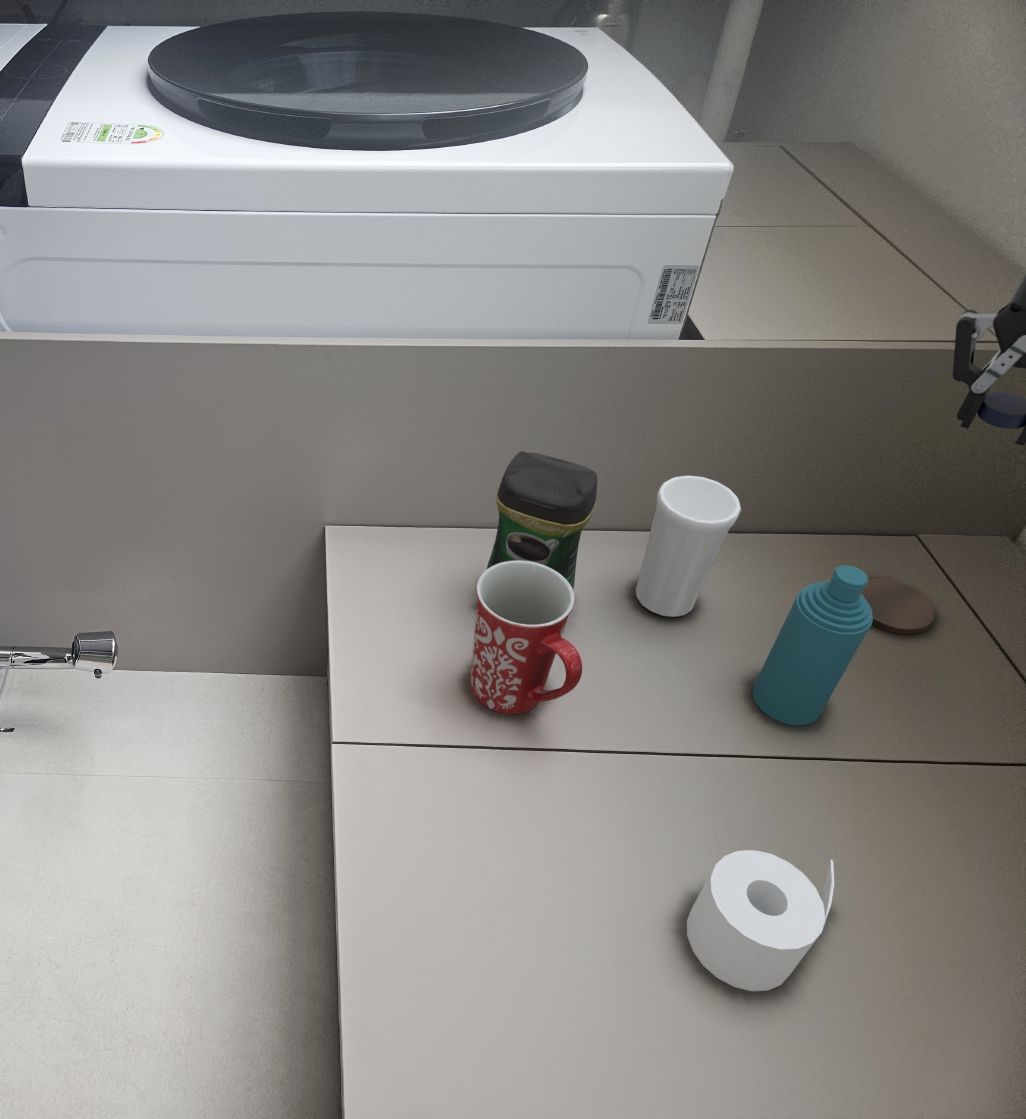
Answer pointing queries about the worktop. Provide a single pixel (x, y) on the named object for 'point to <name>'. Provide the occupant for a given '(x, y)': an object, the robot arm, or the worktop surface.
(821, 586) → the bottle
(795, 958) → the toilet paper
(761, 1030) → the worktop surface
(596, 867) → the worktop surface
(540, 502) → the coffee jar
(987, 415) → the cap
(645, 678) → the worktop surface
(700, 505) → the cup
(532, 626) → the mug
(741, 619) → the worktop surface
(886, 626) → the coaster
